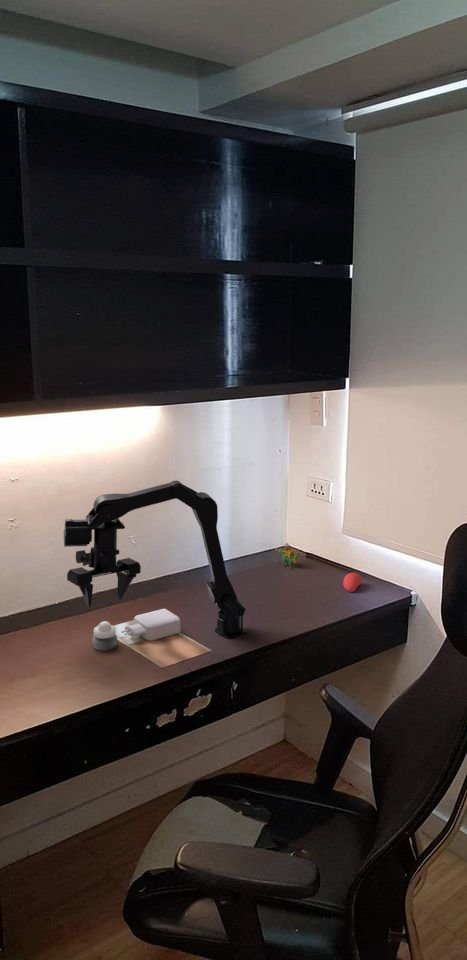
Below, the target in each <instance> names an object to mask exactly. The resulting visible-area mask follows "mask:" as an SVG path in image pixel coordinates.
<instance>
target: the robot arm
mask: <svg viewBox="0 0 467 960" xmlns="http://www.w3.org/2000/svg"><path fill="white" fill-rule="evenodd" d="M175 499H177V500H178V501H180V502H182V503H183V504H185V505H186V506H188V507H189V508H191V510H192V512H193V515H194V517H195V519H196V521H197V523H198V525H199V527H200V531H201V536H202V539H203V543H204V548H205V549H204V550H205V553H206V558H207V562H208V566H209V570H210V581H206V582H205V584H206V586H207V589H208V595H207V596H208V597H209V598H210V600H211V601H212V603H213V604H215V605H216V606H217V607H218V609H220V610H219V611H218V614H217V618H216V628H214V632H216V633H217V634H220V635H221V636H223V637H225V638H227V639H232V638H235V637H238V636H241V635H244V634H247V630H246V629H244V615H245V612H246V607H245V606H244V605H243V604H242V602H241V601H240V600H239V599H238V596H237V594H236V592H235V588H234V586H233V585H232V583H231V581H230V579H229V577H228V573H227V569H226V565H225V560H224V556H223V551H222V547H221V543H220V537H219V533H218V528H217V526H218V518H219V514H218V511H219V509H218V504H217V502H216V500H214V498H212V497H211V496H210V495H209V494H208V493H206V492H201V491H199V492H197V491H195V490H194V489H192V488H191V487H189V486H187V485H184V484H183V483H182V482H181V481H179V480H172V481H170V482H167V483H164V484H160V485H156V486H155V485H154V486H152V487H147V488H144V489H141V490H137V491H132V492H129V493H128V492H127V493H106V494H100V495H99V496H97V497H96V498H95V500H94V502H93V507H92V508H91V510H90V511H89V512H88V514H87V515H86V516H85V519H70V518H65V520H64V529H63V547H64V548H66V547H67V548H68V547H88V545H90V543H92V541H93V546H92V547H90V552H86V550H84V549H82V550H79V551H78V550H77V551H75V561H76V563H77V564H82V566H83V567H76V568H72V569H71V568H70V569H69V570H68V572H67V573H66V574H67V575H66V580H67V581H68V582H70V583H72V584H73V585H75V586H77V587H79V589H80V590H79V591H80V592H81V594H82V597H83V600H84V603H85V605H86V607H88V608H91V604H92V600H93V592H94V591H93V589H94V584H93V583H92V582H93V579H94V578H97V577H103V576H108V575H111V574H116V576H117V577H116V578H117V592H116V593H117V594H116V595H117V600H119V601H122V599H123V597H124V595H125V594H126V591H127V589H129V586H130V585H131V583H132V582H133V580H134V578H137V575H138V574H141V573H142V569H141V568H142V566H141V564H140V562H138V561H136V559H132V558H130V557H127V558H122V559H118V560H117V556H118V555H120V550H119V549H118V547H117V546H118V545H117V544H118V543H117V541H118V530H124V529H126V526H125V524H124V522H122V521H121V520H120V518H122V517H123V516H126V514H127V515H128V513H129V512H132V511H135V510H139V509H142V508H146V507H149V506H153V505H157V504H161V503H163V502H167V501H168V502H169V501H171V500H175ZM87 565H88V567H89V568H91V569H90V570H88V569H86V568H85V567H86V566H87ZM84 566H85V567H84Z"/></svg>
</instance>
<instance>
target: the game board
mask: <svg viewBox="0 0 467 960" xmlns="http://www.w3.org/2000/svg"><path fill="white" fill-rule="evenodd" d="M131 625H134V619H132V620H129V621H125V622H122V623H118V624H115V625H113V626H114V627H115V628H116V634H115V636H113V637H111V638H105V639H102V638H97V637H95V636H94V635H93V636H92V648H93V649H94V650H96V651H110V650H114V649H116V648H117V647H118V642H120V643H121V644H123V645H125V646H126V647H128V648H129V649H131V650H133V651H134V652H136V653H137V654H139V655H140V656H142V657H143V658H145V659H147V660H148V661H149V662H150V663H152V664H154V665H156V667H157V666H158V667H159V668H160V669H164V668H167V667H171V666H173V665H175V664H178V663H182V662H184V661H187V660H190V659H193V658H196V657H199V656H202V655H204V654H208V653H210V652H211V653H212V651H213V650H212V649H211V648H209V647H207V646H204V645H203V644H202V643H199V642H197V641H196V640H194V639H192V638H191V637H189V636H187V635H185V634H183V633H181V632H180V633H178V634H174V635H170V636H167V637H163V638H160V639H156V640H152V641H150V640H146V639H145V638H144V637H142V636H141V635H139V636H135V637H131V636H130V635H128V634H127V635H124V634H125V633H127V632H123V633H121V631H124V630H125V627H127V626H131Z"/></svg>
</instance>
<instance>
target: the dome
mask: <svg viewBox="0 0 467 960" xmlns="http://www.w3.org/2000/svg"><path fill="white" fill-rule="evenodd" d="M114 626H115V625H112V624H111V623H110V622H108V621H106V620H105V621H101V622H100V623H99V624H98V625H97V626H95V627H94V628H93V636H95V637H97V638H102V639H105V638H111V637H113V636H115V634H116V628H115V627H114Z"/></svg>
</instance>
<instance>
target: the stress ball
mask: <svg viewBox="0 0 467 960" xmlns="http://www.w3.org/2000/svg"><path fill="white" fill-rule="evenodd" d="M362 582H363V578H362V576H361V574H359V573H357V572H349V573H348V574H346V575H345V576H344V578H343V583H342V584H343V585H342V586H343V587H344V589H345V590H346V591H347V592H348V593H352V592H355V591H356V589H357V588H358V587H359V586H360V585H361V584H362Z"/></svg>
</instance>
